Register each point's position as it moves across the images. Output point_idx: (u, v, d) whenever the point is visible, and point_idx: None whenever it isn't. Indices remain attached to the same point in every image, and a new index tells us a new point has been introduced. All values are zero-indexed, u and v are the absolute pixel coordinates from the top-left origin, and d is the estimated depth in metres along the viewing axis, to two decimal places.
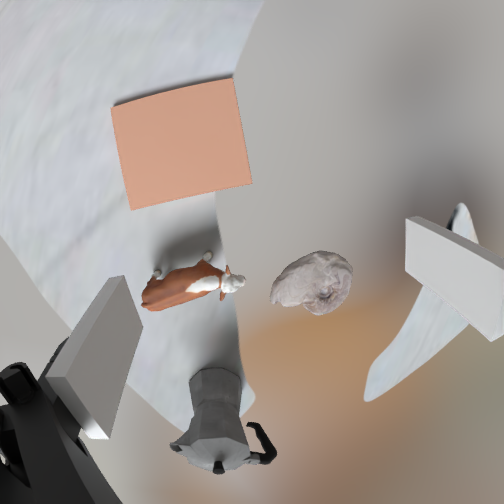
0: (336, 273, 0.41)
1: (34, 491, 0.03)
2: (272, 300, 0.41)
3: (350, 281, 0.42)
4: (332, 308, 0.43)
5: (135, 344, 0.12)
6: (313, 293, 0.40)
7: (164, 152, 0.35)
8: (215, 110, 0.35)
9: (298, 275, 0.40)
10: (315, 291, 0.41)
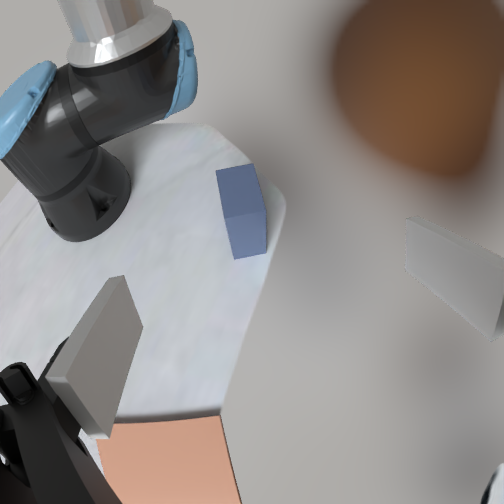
0: None
1: (34, 491, 0.03)
2: None
3: None
4: None
5: (135, 344, 0.12)
6: None
7: (149, 483, 0.26)
8: (201, 451, 0.28)
9: None
10: None
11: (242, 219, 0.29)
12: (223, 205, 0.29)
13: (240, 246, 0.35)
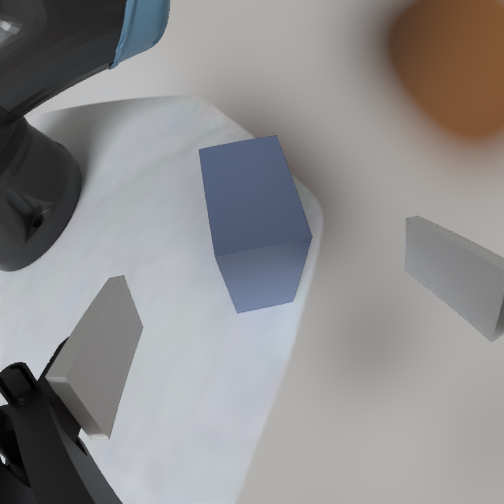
0: None
1: (34, 491, 0.03)
2: None
3: None
4: None
5: (135, 344, 0.12)
6: None
7: None
8: None
9: None
10: None
11: (257, 256, 0.13)
12: (213, 224, 0.13)
13: (249, 297, 0.18)
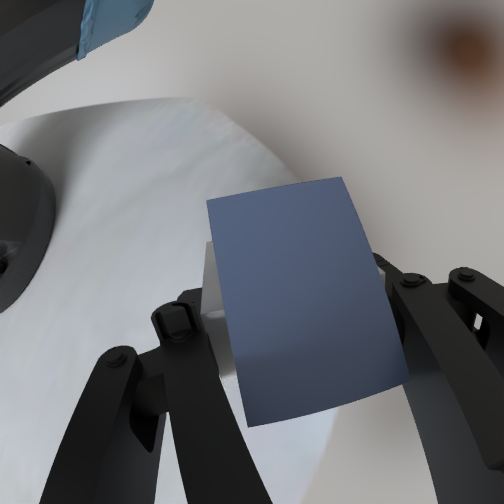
0: None
1: (174, 432, 0.05)
2: None
3: None
4: None
5: None
6: None
7: None
8: None
9: None
10: None
11: None
12: (241, 365, 0.07)
13: None
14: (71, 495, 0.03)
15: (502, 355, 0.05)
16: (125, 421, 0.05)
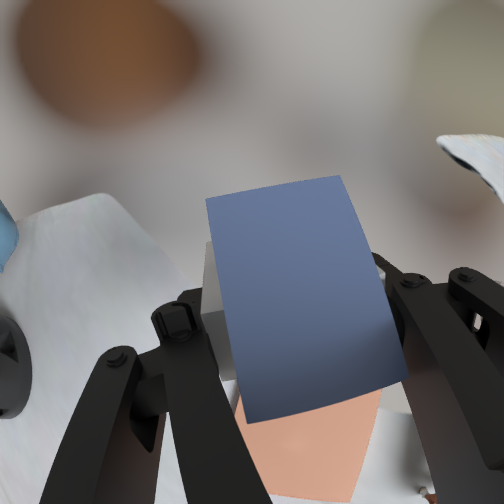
0: None
1: (174, 432, 0.05)
2: None
3: None
4: None
5: None
6: None
7: (308, 447, 0.25)
8: None
9: None
10: None
11: None
12: (240, 362, 0.07)
13: None
14: (71, 495, 0.03)
15: (502, 355, 0.05)
16: (125, 421, 0.05)
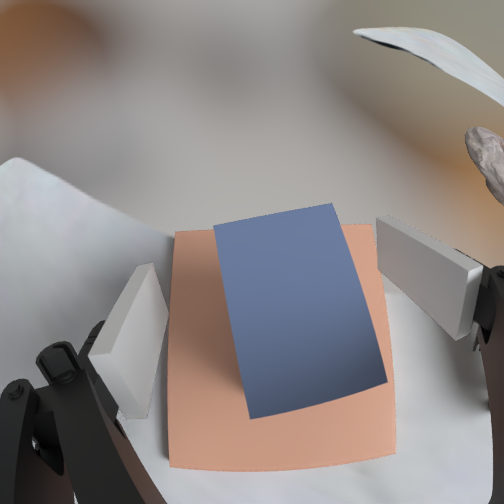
0: (488, 139, 0.22)
1: (69, 472, 0.04)
2: None
3: (483, 128, 0.24)
4: None
5: (163, 329, 0.13)
6: None
7: None
8: None
9: None
10: None
11: None
12: (244, 367, 0.08)
13: None
14: None
15: None
16: (29, 446, 0.04)
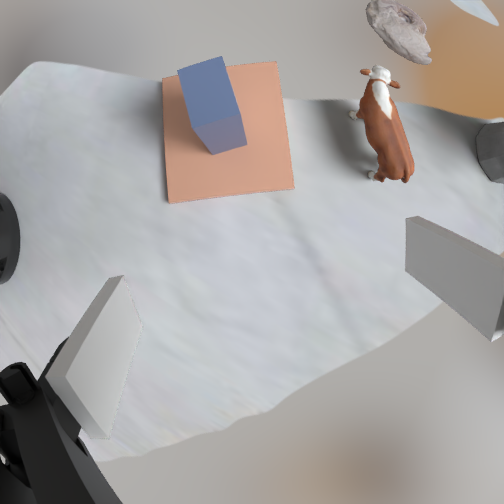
0: (384, 8, 0.28)
1: (34, 491, 0.03)
2: (428, 60, 0.28)
3: None
4: (415, 13, 0.28)
5: (135, 344, 0.12)
6: (409, 25, 0.27)
7: None
8: None
9: (398, 36, 0.28)
10: (408, 23, 0.27)
11: (213, 125, 0.23)
12: (189, 112, 0.22)
13: (217, 145, 0.29)
14: None
15: None
16: None
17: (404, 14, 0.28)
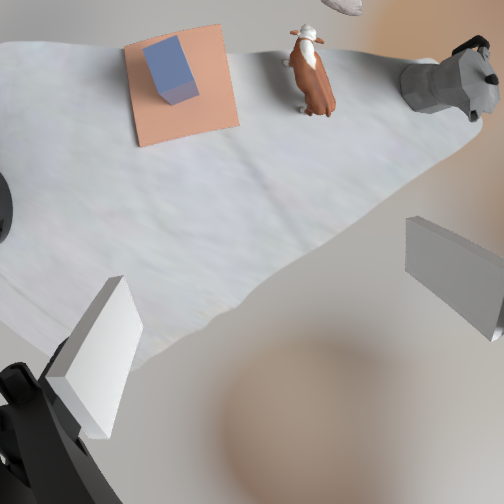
0: None
1: (34, 491, 0.03)
2: (360, 13, 0.33)
3: None
4: None
5: (135, 344, 0.12)
6: None
7: None
8: None
9: None
10: None
11: (174, 89, 0.28)
12: (155, 82, 0.27)
13: (176, 99, 0.34)
14: None
15: None
16: None
17: None
